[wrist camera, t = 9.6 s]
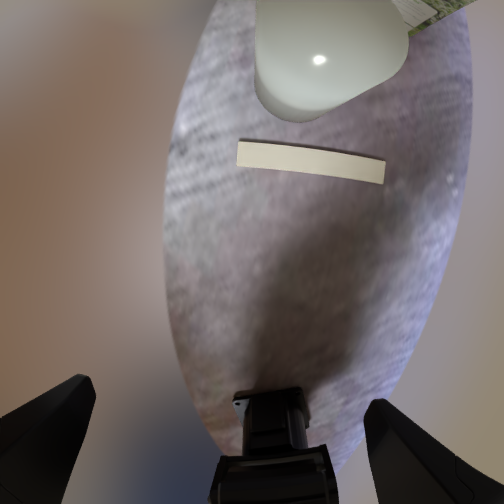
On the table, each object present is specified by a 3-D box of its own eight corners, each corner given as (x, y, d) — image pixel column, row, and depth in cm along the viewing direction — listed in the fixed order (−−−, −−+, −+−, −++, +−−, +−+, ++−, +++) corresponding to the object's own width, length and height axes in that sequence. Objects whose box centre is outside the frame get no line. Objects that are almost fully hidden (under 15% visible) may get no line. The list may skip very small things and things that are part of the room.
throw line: (384, 161, 18) (385, 161, 17) (381, 184, 18) (383, 184, 18) (238, 141, 17) (238, 141, 17) (236, 165, 18) (236, 166, 18)
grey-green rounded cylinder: (344, 116, 17) (426, 85, 7) (265, 129, 17) (279, 97, 8) (324, 45, 15) (378, -32, 6) (245, 56, 16) (239, -29, 6)
